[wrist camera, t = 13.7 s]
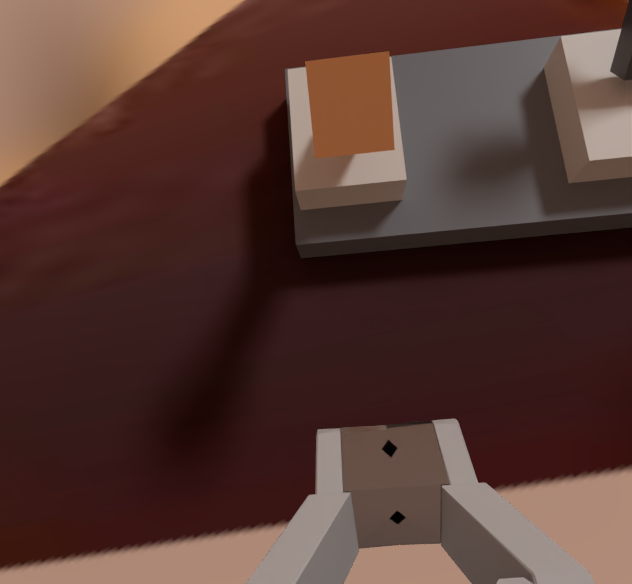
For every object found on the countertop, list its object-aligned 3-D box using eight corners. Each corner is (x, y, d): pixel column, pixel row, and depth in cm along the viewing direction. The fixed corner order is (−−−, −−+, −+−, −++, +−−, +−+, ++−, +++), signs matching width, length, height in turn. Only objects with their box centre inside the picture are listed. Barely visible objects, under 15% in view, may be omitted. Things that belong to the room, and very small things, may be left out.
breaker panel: (622, 55, 37) (671, -10, 31) (667, 224, 34) (731, 185, 28) (290, 94, 39) (278, 39, 33) (300, 258, 36) (289, 228, 30)
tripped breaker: (368, 87, 30) (389, 51, 18) (372, 148, 31) (394, 149, 19) (317, 93, 30) (305, 61, 18) (322, 153, 31) (315, 158, 19)
